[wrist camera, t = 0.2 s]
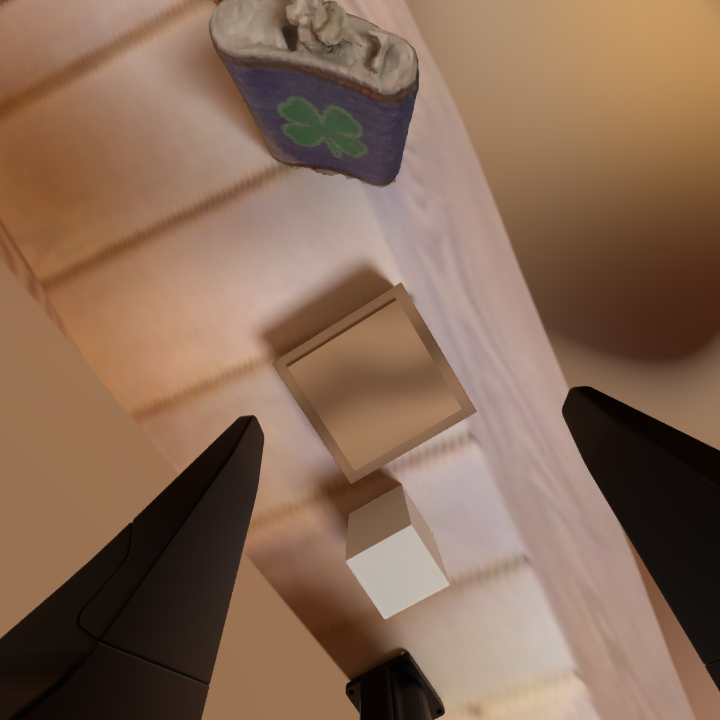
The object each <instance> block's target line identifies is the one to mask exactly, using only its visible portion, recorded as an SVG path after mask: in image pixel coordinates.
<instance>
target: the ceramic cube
mask: <svg viewBox="0 0 720 720" xmlns="http://www.w3.org/2000/svg"><path fill="white" fill-rule="evenodd" d="M345 561H346V563H347V564H348V566H349V567H350V569H351V570H352V572H353V573H354V575H355V576H356V578H357V579H358V581H359V582H360V584H361V585H362V587H363V588H364V590H365V591H366V593H367V594H368V596H369V597H370V599H371V600H372V601H373V603H374V604H375V606H376V607H377V609H378V610H379V612H380V613H381V615H382V616H383V618H384V619H387V618H389V617H391V616H393V615H395V614H396V613H398V612H400V611H402V610H404V609H406V608H408V607H410V606H411V605H413V604H415V603H417V602H419V601H421V600H423V599H425V598H426V597H428V596H430V595H432V594H434V593H436V592H438V591H440V590H442V589H443V588H445V587H447V586H449V585H450V583H449V580H448V577H447V574H446V571H445V568H444V565H443V562H442V559H441V556H440V553H439V550H438V547H437V544H436V541H435V538H434V535H433V533H432V531H431V529H430V528H429V526H428V525H427V523H426V522H425V520H424V518H423V517H422V515H421V514H420V512H419V510H418V509H417V507H416V506H415V504H414V503H413V501H412V499H411V498H410V496H409V495H408V493H407V491H406V490H405V488H404V487H403V485H402V484H401V485H399V486H397V487H396V488H394V489H392V490H390V491H388V492H387V493H385V494H383V495H381V496H380V497H378V498H376V499H374V500H373V501H371V502H369V503H367V504H366V505H364V506H362V507H360V508H358V509H357V510H355V511H353V512H351V513H350V514H349V520H348V533H347V546H346V559H345Z"/></svg>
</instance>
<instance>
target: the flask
mask: <svg viewBox="0 0 720 720" xmlns="http://www.w3.org/2000/svg"><path fill="white" fill-rule="evenodd" d="M209 31H210V36H211V39H212V43H213V46H214V48H215V50H216V52H217V54H218V56H219V57H220V59H221V60H222V62H223V63H224V65H225V66H226V68H227V70H228V71H229V73H230V75H231V77H232V79H233V80H234V82H235V84H236V86H237V88H238V90H239V92H240V93H241V95H242V97H243V99H244V101H245V102H246V104H247V106H248V108H249V110H250V112H251V114H252V116H253V118H254V120H255V122H256V124H257V126H258V128H259V129H260V131H261V133H262V135H263V137H264V139H265V141H266V144H267V146H268V148H269V150H270V152H271V153H272V155H273V156H274V158H275V159H276V160H278V161H280V162H282V163H284V164H285V165H289V166H291V167H293V168H298V166H300V167H305V168H309V169H312V170H315V171H316V172H318V173H322V174H323V175H330V176H331V175H333V176H334V174H335V175H337V174H343V175H346V177H347V179H349V178H350V179H351V178H357V179H360V180H361V181H362V182H363V183H368V184H371V185H374V186H377V187H380V188H382V187H385V186H387V185H388V184H390V183H392V182H396V181H395V177H396V175H397V174H398V173H399V169H400V167H401V161H402V156H403V151H404V147H405V142H406V138H407V134H408V128H409V123H410V121H411V118H412V113H413V110H414V103H415V99H416V95H417V92H418V89H419V70H418V58H417V55H416V52H415V49H414V48H413V47H412V46H411V45H410V44H409V43H408V42H407V41H406V40H405V39H403V38H401V37H399V36H398V35H395V34H393V33H390V32H387V31H385V30H382V29H381V28H379V27H378V26H376V25H374V24H372V23H370V22H368V21H366V20H364V19H361V18H359V17H356V16H353V15H350V14H347V13H346V12H345V10H344V9H343V8H341V7H340V6H338V4H337V3H336V2H335V1H329V0H328V1H326V2H325V1H324V0H292V1H290V0H222V1H221V2H220V3H219V4H218V6H217V7H216V9H215V10H214V12H213V14H212V17H211V19H210V21H209Z"/></svg>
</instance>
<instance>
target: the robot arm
mask: <svg viewBox="0 0 720 720" xmlns="http://www.w3.org/2000/svg"><path fill="white" fill-rule="evenodd" d="M562 414H563V417H564V419H565V422H566V424H567V426H568V428H569V430H570V432H571V435H572V437H573V439H574V441H575V443H576V446H577V448H578V450H579V452H580V454H581V456H582V459H583V461H584V463H585V465H586V466H587V468H588V470H589V472H590V474H591V475H592V477H593V479H594V480H595V482H596V484H597V485H598V487H599V489H600V490H601V492H602V494H603V495H604V497H605V499H606V500H607V502H608V504H609V506H610V507H611V509H612V511H613V512H614V514H615V516H616V517H617V519H618V521H619V522H620V524H621V526H622V527H623V529H624V531H625V532H626V534H627V536H628V538H629V539H630V541H631V542H632V544H633V546H634V548H635V549H636V551H637V553H638V554H639V556H640V558H641V559H642V561H643V563H644V564H645V566H646V568H647V569H648V571H649V573H650V575H651V576H652V578H653V580H654V581H655V583H656V584H657V586H658V588H659V590H660V591H661V593H662V595H663V596H664V598H665V600H666V601H667V603H668V605H669V607H670V608H671V610H672V612H673V613H674V615H675V617H676V618H677V620H678V622H679V623H680V625H681V626H682V628H683V630H684V631H685V633H686V635H687V637H688V639H689V640H690V642H691V644H692V645H693V647H694V648H695V650H696V652H697V654H698V655H699V657H700V659H701V660H702V662H703V663H704V664H705V668H706V669H707V671H708V673H709V674H710V676H711V678H712V679H713V681H714V683H715V685H716V686H717V688H718V690H719V691H720V451H719V450H717V449H715V448H713V447H711V446H709V445H707V444H705V443H703V442H701V441H699V440H697V439H695V438H693V437H691V436H689V435H687V434H685V433H683V432H681V431H679V430H677V429H675V428H673V427H671V426H669V425H667V424H665V423H663V422H661V421H659V420H657V419H655V418H652V417H651V416H649V415H646V414H645V413H642V412H640V411H638V410H636V409H634V408H632V407H630V406H628V405H626V404H624V403H622V402H620V401H618V400H616V399H614V398H612V397H610V396H608V395H606V394H604V393H602V392H600V391H598V390H596V389H594V388H592V387H589V386H580V387H573V388H571V389H570V390H569V392H568V395H567V397H566V400H565V402H564V405H563V407H562ZM263 445H264V434H263V431H262V429H261V427H260V424H259V422H258V420H257V418H256V417H255V416H254V415H248V416H241V417H239V418H238V419H237V420H236V421H235V422H234V423H233V424H232V425H231V426H230V427H229V428H227V429H226V430H225V431H224V432H223V433H222V434H221V435H220V436H219V437H218V438H217V439H216V440H215V441H214V442H213V443H212V444H211V445H210V446H209V447H208V448H207V449H206V450H205V451H204V452H203V453H202V454H201V455H200V456H199V457H198V458H196V459H195V460H194V461H193V462H192V463H191V464H190V465H189V466H188V467H187V468H186V469H185V470H184V471H183V472H182V473H181V474H180V475H179V476H178V477H177V478H176V479H175V480H174V481H173V482H172V483H171V484H170V485H169V486H168V487H166V488H165V490H163V491H162V492H161V493H160V494H159V495H158V496H157V497H156V498H155V499H154V500H153V501H152V502H151V503H150V504H149V505H148V506H147V507H146V508H145V509H144V510H143V511H142V512H141V513H140V514H139V515H138V516H137V517H135V518H134V520H133V523H129V524H128V525H127V526H126V527H125V528H124V529H123V530H122V531H121V532H120V533H119V534H118V535H117V536H116V537H115V538H114V539H113V540H111V541H110V542H109V543H108V544H107V545H106V546H105V547H104V548H103V549H102V550H101V551H100V552H99V553H98V554H97V555H96V556H94V557H93V559H91V560H90V561H89V562H88V563H87V564H86V565H84V566H83V567H82V568H81V569H80V570H79V571H78V572H77V573H75V574H74V575H73V576H72V577H71V578H70V579H69V580H68V581H66V582H65V583H64V584H63V585H62V586H61V587H60V588H58V589H57V590H56V591H55V592H54V593H53V594H51V595H50V596H49V597H48V598H47V599H46V600H44V602H42V603H41V604H40V605H39V606H38V607H36V608H35V609H34V610H33V611H32V612H31V613H29V614H28V615H27V616H26V617H25V618H24V619H22V620H21V621H20V622H19V623H18V624H17V625H16V626H14V627H13V628H12V629H11V630H10V631H9V632H8V633H6V634H5V635H4V636H3V637H2V638H1V639H0V720H201V718H202V714H203V710H204V706H205V702H206V698H207V694H208V690H209V684H210V681H211V677H212V673H213V669H214V665H215V661H216V656H217V652H218V648H219V644H220V640H221V636H222V632H223V628H224V624H225V620H226V616H227V612H228V608H229V603H230V600H231V596H232V592H233V588H234V584H235V579H236V576H237V571H238V567H239V563H240V559H241V555H242V551H243V547H244V543H245V539H246V535H247V531H248V527H249V523H250V519H251V515H252V511H253V507H254V503H255V499H256V494H257V489H258V483H259V476H260V468H261V461H262V453H263ZM346 695H347V696H348V698H349V699H350V701H351V702H352V703H353V705H354V706H355V708H356V709H357V710H358V712H359V713H360V720H434V719H436V718H438V717H441V716H442V715H444V713H445V709H444V705H443V703H442V701H441V700H440V698H439V697H438V695H437V694H436V692H435V691H434V689H433V688H432V686H431V685H430V683H429V682H428V680H427V679H426V677H425V676H424V675H423V673H422V672H421V670H420V669H419V667H418V666H417V664H416V663H415V661H414V660H413V658H412V657H411V656H410V655H409V654H403V655H401V656H399V657H397V658H395V659H393V660H391V661H389V662H387V663H385V664H383V665H381V666H379V667H378V668H376V669H374V670H372V671H370V672H368V673H366V674H364V675H362V676H360V677H358V678H356V679H354V680H352V681H351V682H349V683H347V685H346Z"/></svg>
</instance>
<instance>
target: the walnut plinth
mask: <svg viewBox="0 0 720 720" xmlns="http://www.w3.org/2000/svg"><path fill="white" fill-rule="evenodd" d="M272 364H273V366H274V367H275V369H276V370H277V372H278V373H279V375H280V377H281V378H282V380H283V381H284V383H285V384H286V386H287V387H288V389H289V390H290V392H291V393H292V395H293V396H294V398H295V400H296V401H297V403H298V404H299V406H300V407H301V409H302V410H303V412H304V413H305V415H306V416H307V418H308V419H309V421H310V422H311V424H312V426H313V427H314V429H315V430H316V432H317V433H318V435H319V436H320V438H321V439H322V441H323V442H324V444H325V445H326V447H327V449H328V450H329V452H330V453H331V455H332V456H333V458H334V459H335V461H336V462H337V464H338V465H339V467H340V468H341V470H342V471H343V473H344V475H345V476H346V478H347V479H348V481H349V482H350V484H352V483H354V482H356V481H357V480H359V479H361V478H363V477H364V476H366V475H368V474H370V473H371V472H373V471H375V470H376V469H378V468H380V467H382V466H383V465H385V464H387V463H389V462H390V461H392V460H394V459H396V458H397V457H399V456H401V455H403V454H404V453H406V452H408V451H410V450H411V449H413V448H415V447H417V446H418V445H420V444H422V443H423V442H425V441H427V440H429V439H430V438H432V437H434V436H436V435H437V434H439V433H441V432H443V431H444V430H446V429H448V428H450V427H451V426H453V425H455V424H457V423H458V422H460V421H462V420H463V419H465V418H467V417H469V416H470V415H472V414H474V413H476V412H477V411H476V409H475V408H474V406H473V404H472V402H471V401H470V399H469V397H468V396H467V394H466V392H465V390H464V389H463V387H462V385H461V384H460V382H459V380H458V378H457V377H456V375H455V373H454V372H453V370H452V368H451V367H450V365H449V363H448V361H447V360H446V358H445V356H444V355H443V353H442V351H441V349H440V348H439V346H438V344H437V343H436V341H435V339H434V337H433V336H432V334H431V332H430V331H429V329H428V327H427V326H426V324H425V322H424V320H423V319H422V317H421V315H420V314H419V312H418V310H417V308H416V307H415V305H414V303H413V302H412V300H411V298H410V296H409V295H408V293H407V291H406V290H405V288H404V286H403V285H402V283H399V284H398V285H396V286H395V287H393V288H391V289H390V290H388V291H387V292H385V293H383V294H382V295H380V296H379V297H377V298H375V299H374V300H372V301H371V302H369V303H367V304H366V305H364V306H363V307H361V308H359V309H358V310H356V311H354V312H353V313H351V314H350V315H348V316H346V317H345V318H343V319H342V320H340V321H338V322H337V323H335V324H334V325H332V326H330V327H329V328H327V329H326V330H324V331H322V332H321V333H319V334H318V335H316V336H314V337H313V338H311V339H310V340H308V341H306V342H305V343H303V344H302V345H300V346H298V347H297V348H295V349H294V350H292V351H290V352H289V353H287V354H286V355H284V356H282V357H281V358H279V359H278V360H276V361H274V362H273V363H272Z"/></svg>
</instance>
